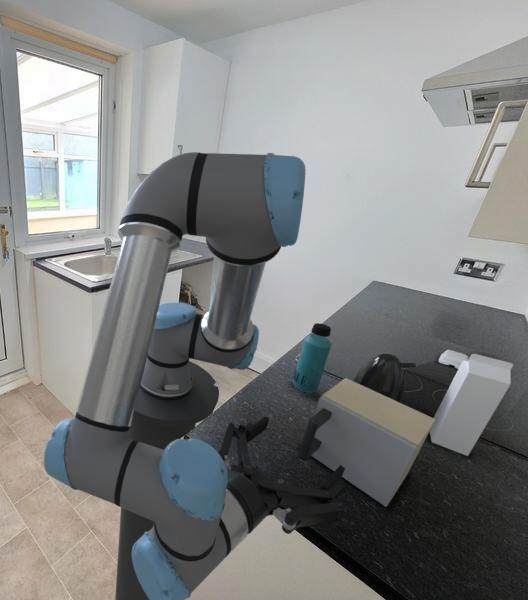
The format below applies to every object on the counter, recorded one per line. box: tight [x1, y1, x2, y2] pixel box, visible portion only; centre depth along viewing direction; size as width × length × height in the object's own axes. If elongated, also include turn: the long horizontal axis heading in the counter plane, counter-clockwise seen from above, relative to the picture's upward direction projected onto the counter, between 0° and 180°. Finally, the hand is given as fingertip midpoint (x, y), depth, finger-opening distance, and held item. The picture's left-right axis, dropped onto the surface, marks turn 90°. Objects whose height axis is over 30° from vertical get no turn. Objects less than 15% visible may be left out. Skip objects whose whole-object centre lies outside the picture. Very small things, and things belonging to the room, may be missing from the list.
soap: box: [438, 349, 469, 370], centre depth 104 cm, size 9×7×3 cm
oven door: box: [297, 395, 417, 508], centre depth 57 cm, size 7×15×14 cm, turn 35°
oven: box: [321, 377, 436, 502], centre depth 62 cm, size 11×15×14 cm
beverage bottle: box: [291, 322, 332, 393], centre depth 83 cm, size 6×7×20 cm
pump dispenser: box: [352, 352, 417, 403], centre depth 80 cm, size 10×10×15 cm
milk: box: [429, 353, 514, 457], centre depth 67 cm, size 6×6×22 cm
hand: (300, 445), depth 57 cm, fingers open, 13 cm apart
